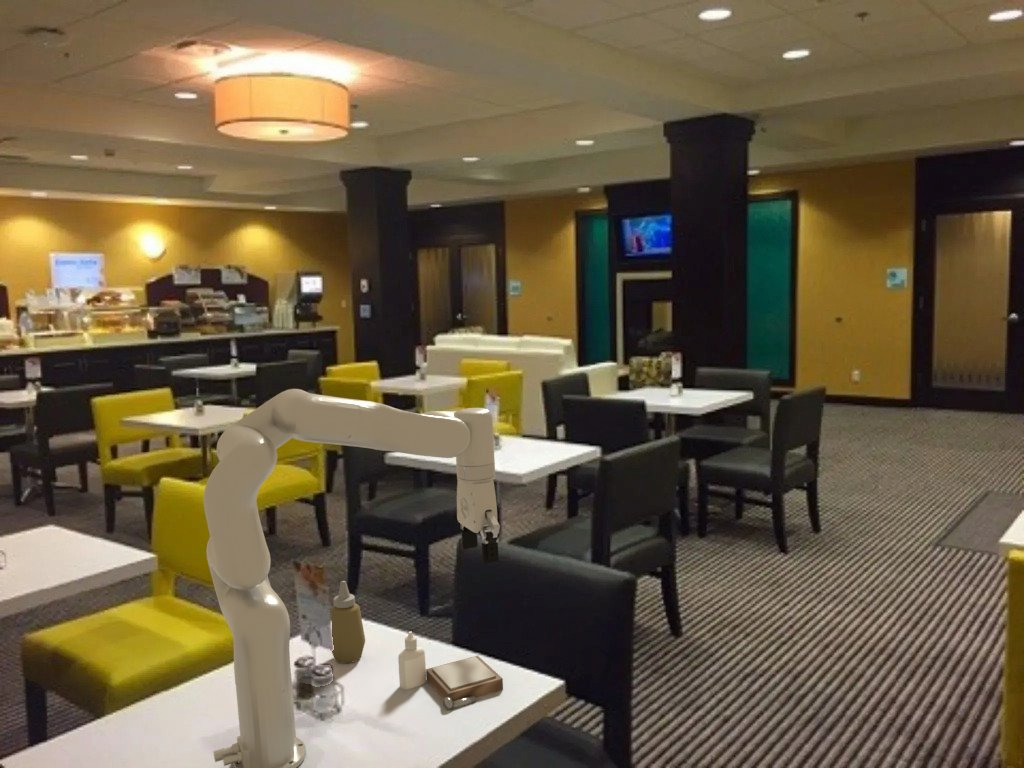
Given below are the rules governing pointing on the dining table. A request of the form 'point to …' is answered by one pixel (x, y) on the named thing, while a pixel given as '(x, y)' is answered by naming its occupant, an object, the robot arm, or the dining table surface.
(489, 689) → the picture frame
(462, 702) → the loose bolt
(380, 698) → the dining table surface
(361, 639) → the squeeze bottle
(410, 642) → the eye dropper bottle
